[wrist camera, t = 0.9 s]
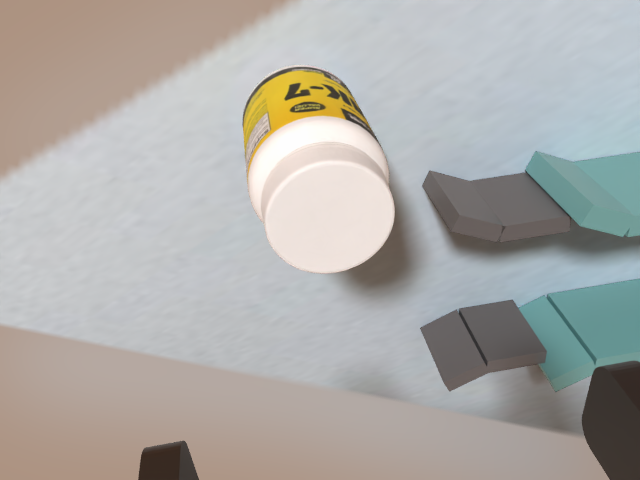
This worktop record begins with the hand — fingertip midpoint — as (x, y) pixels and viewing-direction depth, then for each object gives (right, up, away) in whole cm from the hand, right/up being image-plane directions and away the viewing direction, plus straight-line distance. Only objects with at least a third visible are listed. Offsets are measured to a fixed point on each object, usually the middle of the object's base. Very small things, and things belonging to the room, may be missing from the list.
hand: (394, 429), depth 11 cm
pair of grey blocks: (+6, +3, +18) cm, 20 cm away
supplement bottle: (-2, +9, +13) cm, 16 cm away
